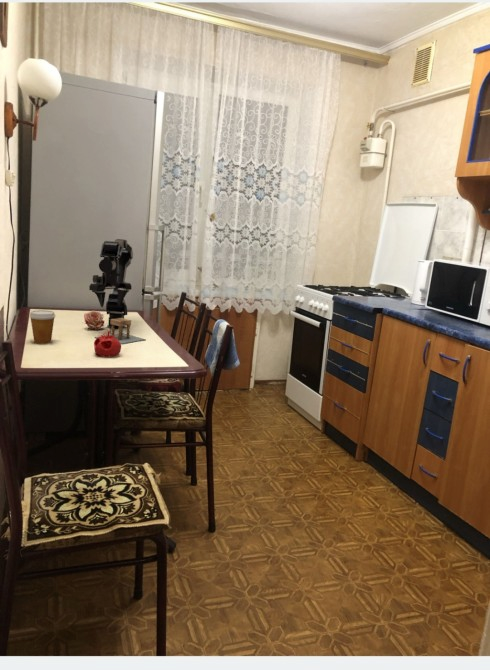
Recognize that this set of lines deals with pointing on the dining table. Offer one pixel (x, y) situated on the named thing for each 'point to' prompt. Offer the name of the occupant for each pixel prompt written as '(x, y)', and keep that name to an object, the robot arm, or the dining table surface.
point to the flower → (94, 319)
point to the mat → (125, 341)
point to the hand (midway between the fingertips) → (110, 306)
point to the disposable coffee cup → (42, 325)
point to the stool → (120, 326)
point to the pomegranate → (107, 345)
